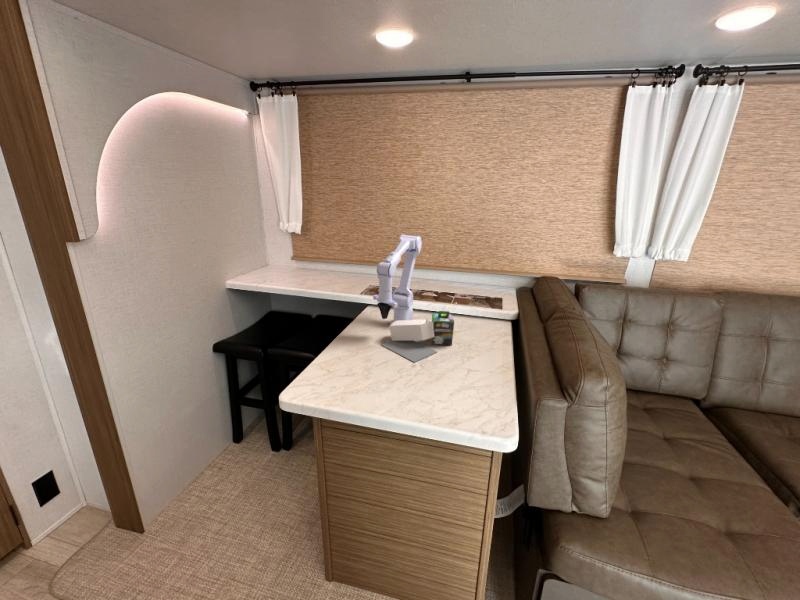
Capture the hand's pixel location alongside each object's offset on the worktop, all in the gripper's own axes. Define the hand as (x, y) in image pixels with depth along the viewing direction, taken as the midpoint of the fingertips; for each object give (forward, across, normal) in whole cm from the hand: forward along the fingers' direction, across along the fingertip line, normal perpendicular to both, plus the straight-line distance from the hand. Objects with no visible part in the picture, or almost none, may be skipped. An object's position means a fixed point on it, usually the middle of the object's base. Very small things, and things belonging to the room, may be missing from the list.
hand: (384, 318), depth 159 cm
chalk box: (+9, +20, +17) cm, 28 cm away
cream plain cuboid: (+5, +4, +2) cm, 7 cm away
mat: (+9, +16, 0) cm, 18 cm away
